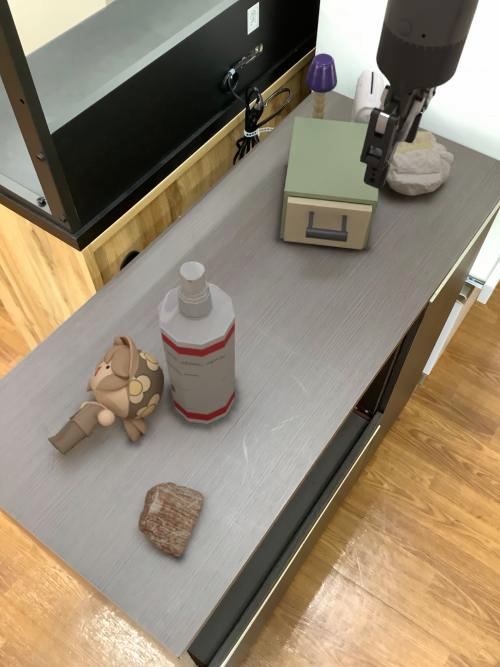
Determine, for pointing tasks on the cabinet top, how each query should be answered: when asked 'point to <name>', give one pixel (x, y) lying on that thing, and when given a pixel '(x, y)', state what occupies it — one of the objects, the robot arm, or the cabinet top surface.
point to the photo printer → (367, 95)
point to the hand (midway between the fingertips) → (389, 161)
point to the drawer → (326, 222)
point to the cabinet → (328, 164)
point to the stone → (170, 516)
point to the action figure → (116, 395)
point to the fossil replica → (419, 165)
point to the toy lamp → (321, 81)
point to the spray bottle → (199, 346)
